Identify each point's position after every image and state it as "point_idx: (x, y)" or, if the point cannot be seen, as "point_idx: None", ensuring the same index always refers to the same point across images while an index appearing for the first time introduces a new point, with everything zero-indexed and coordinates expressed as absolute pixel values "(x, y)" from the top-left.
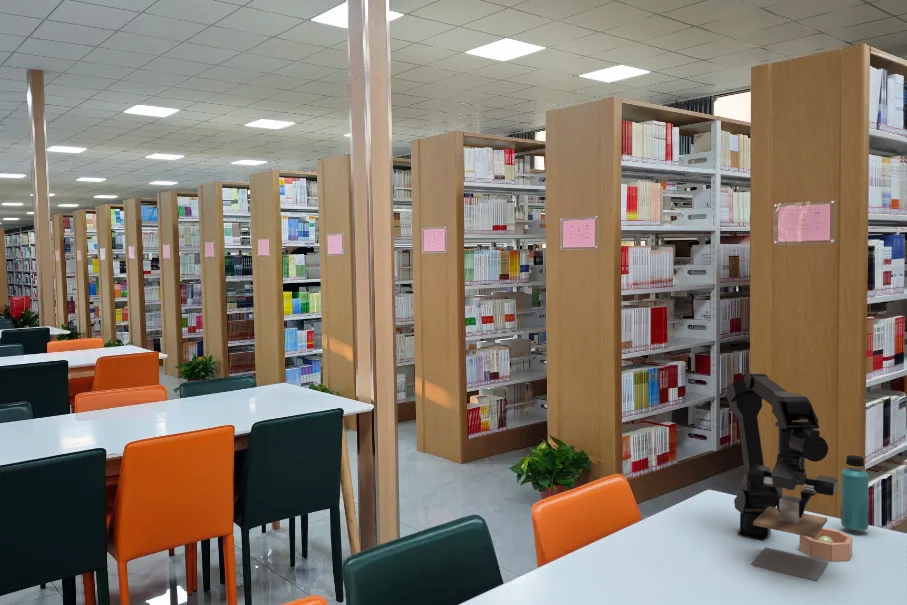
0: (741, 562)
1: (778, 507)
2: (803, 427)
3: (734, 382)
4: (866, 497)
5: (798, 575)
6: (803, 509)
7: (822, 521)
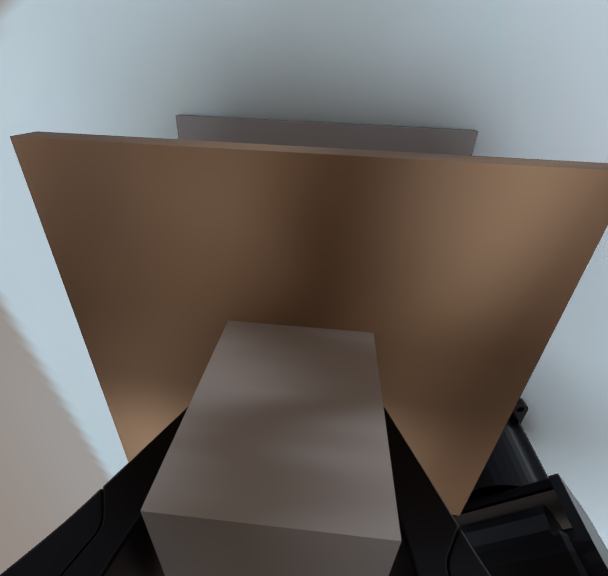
0: (522, 136)
1: (396, 450)
2: None
3: None
4: None
5: (254, 120)
6: (143, 449)
7: (126, 429)
